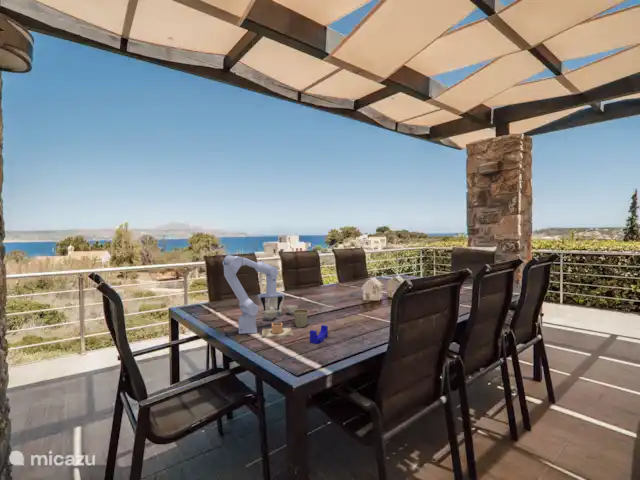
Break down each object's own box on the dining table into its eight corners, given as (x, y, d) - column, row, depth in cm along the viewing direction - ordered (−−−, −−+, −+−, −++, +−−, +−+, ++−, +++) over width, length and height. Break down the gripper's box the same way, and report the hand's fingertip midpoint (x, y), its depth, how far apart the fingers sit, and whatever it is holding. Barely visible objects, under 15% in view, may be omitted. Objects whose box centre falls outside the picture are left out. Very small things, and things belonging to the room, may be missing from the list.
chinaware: (270, 325, 197) (272, 298, 195) (252, 318, 207) (254, 292, 206) (301, 315, 219) (303, 291, 217) (283, 309, 229) (285, 286, 228)
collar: (271, 333, 174) (271, 325, 174) (271, 330, 180) (271, 322, 180) (282, 332, 175) (282, 325, 175) (282, 329, 181) (282, 322, 180)
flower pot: (294, 329, 186) (294, 313, 185) (291, 324, 195) (291, 309, 194) (310, 327, 188) (310, 312, 188) (306, 323, 197) (306, 308, 197)
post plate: (261, 338, 171) (261, 327, 170) (262, 330, 182) (262, 320, 182) (292, 336, 173) (292, 326, 173) (291, 329, 185) (291, 319, 185)
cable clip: (317, 344, 162) (317, 332, 162) (309, 342, 165) (309, 331, 164) (330, 337, 172) (330, 326, 172) (322, 336, 175) (322, 325, 174)
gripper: (258, 288, 185) (258, 312, 185) (284, 287, 188) (284, 311, 188) (258, 286, 191) (258, 309, 192) (283, 285, 195) (283, 308, 195)
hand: (271, 310), depth 191 cm, fingers open, 7 cm apart
